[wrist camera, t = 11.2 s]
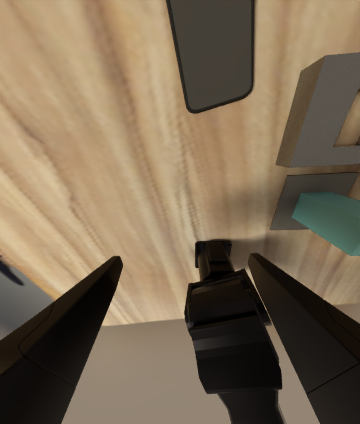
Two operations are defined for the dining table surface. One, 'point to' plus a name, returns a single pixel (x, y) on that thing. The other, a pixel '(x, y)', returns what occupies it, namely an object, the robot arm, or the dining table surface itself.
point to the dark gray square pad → (307, 184)
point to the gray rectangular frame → (321, 114)
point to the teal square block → (331, 219)
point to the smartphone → (213, 50)
